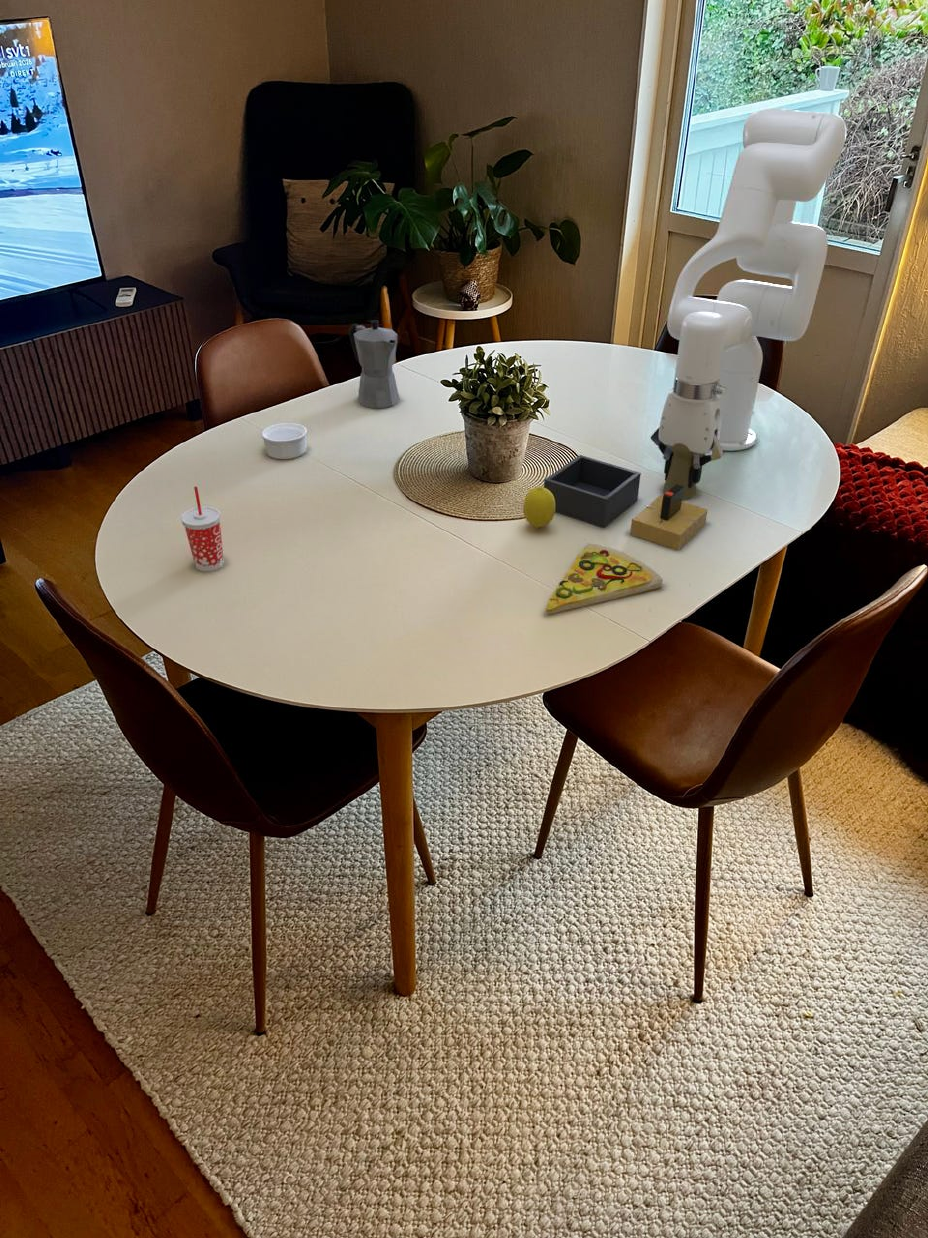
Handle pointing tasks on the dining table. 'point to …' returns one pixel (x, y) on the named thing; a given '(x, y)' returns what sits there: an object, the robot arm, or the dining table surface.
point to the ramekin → (285, 440)
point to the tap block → (668, 524)
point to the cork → (680, 470)
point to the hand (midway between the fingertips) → (681, 480)
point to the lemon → (539, 507)
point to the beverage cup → (204, 536)
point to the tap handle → (671, 502)
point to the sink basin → (593, 490)
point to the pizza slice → (601, 579)
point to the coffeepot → (375, 364)
